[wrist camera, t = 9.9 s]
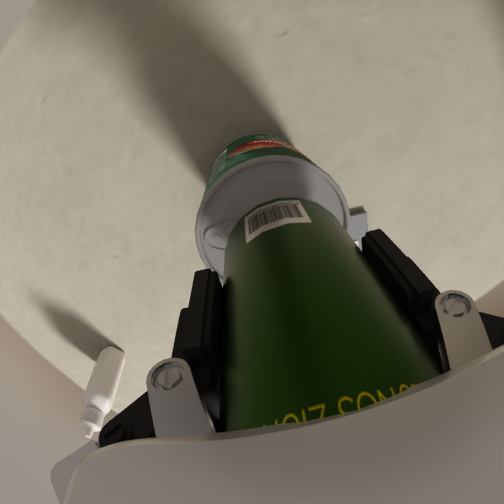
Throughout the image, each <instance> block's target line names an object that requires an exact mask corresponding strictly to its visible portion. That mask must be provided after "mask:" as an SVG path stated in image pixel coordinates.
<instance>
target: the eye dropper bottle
mask: <svg viewBox="0 0 504 504" xmlns="http://www.w3.org/2000/svg"><path fill="white" fill-rule="evenodd" d="M124 363H125V354H124V352H122V351H120V350H119V349H117V348H115V347H113V346H108V347H106V348H105V349H103V350H102V351H101V352H100V354H99V356H98V359H97V361H96V364H95V367H94V369H93V372H92V375H91V377H90V380H89V383H88V386H87V389H86V391H85V394H84V398H83V406H84V412H83V415H82V418H81V424H82V425H83V426H84V427H85V436H86V437H88V438H91V436H92V434H93V432H94V431H100V430H101V427H102V423H103V419H104V415H106V414H107V413H108V412H109V411H110V410H111V407H112V405H113V401H114V397H115V394H116V390H117V387H118V383H119V380H120V376H121V373H122V370H123V366H124Z"/></svg>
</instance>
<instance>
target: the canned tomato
mask: <svg viewBox="0 0 504 504" xmlns="http://www.w3.org/2000/svg"><path fill="white" fill-rule="evenodd" d="M290 197H299V198H303V199H306V200H310V201H313V202H317V203H319V204H320V205H321V206H323V207H324V208H326V209H327V210H328V211H330V212H331V213H332V214H333V215H334V216H335V217H336V218H337V220H338V221H339V222H340V224H341V225H342V226H343V227H344V229H345V230H346V231H347V233H348V234H349V235H350V229H351V223H350V212H349V208H348V204H347V201H346V198H345V197H344V195H343V193H342V191H341V189H340V187H339V186H338V185H337V183H336V182H335V181H334V180H333V179H332V177H331V176H330V175H329V174H327V173H326V172H325V171H323V170H322V169H321V168H319V167H318V166H317V165H316V164H314V163H313V162H312V161H311V160H310V159H308V158H307V157H306V156H304V155H303V154H302V153H301V152H299V151H298V150H297V149H296V148H294V147H293V146H292V145H291V144H290V143H289V142H287V141H286V140H284V139H283V138H281V137H278V136H276V135H273V134H269V133H249V134H245V135H242V136H240V137H237V138H235V139H234V140H232V141H231V142H229V143H228V144H227V145H226V146H225V147H224V148H223V149H222V150H221V151H220V152H219V154H218V155H217V157H216V158H215V161H214V163H213V166H212V170H211V173H210V176H209V180H208V183H207V186H206V189H205V192H204V196H203V199H202V202H201V205H200V208H199V210H198V213H197V219H196V226H195V234H196V244H197V248H198V251H199V254H200V257H201V259H202V261H203V263H204V264H205V266H206V268H207V269H208V268H210V269H211V271H217V273H218V276H219V279H220V282H221V283H222V284H223V275H224V255H225V248H226V245H227V241H228V237H229V234H230V232H231V231H232V229H233V228H234V226H235V225H236V224H237V222H238V221H239V219H240V218H241V217H242V216H243V215H245V214H246V213H247V212H249V211H250V210H251V209H253V208H254V207H255V206H257V205H259V204H262V203H265V202H267V201H270V200H273V199H276V198H290Z"/></svg>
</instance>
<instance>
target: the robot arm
mask: <svg viewBox="0 0 504 504" xmlns="http://www.w3.org/2000/svg"><path fill="white" fill-rule="evenodd" d="M361 243H362V252H363V254H364V255H365V256H366V258H367V259H368V261H369V262H370V263H371V265H372V266H373V267H374V269H375V270H376V272H377V273H378V274H379V276H380V277H381V279H382V280H383V281H384V283H385V284H386V286H387V287H388V289H389V290H390V291H391V293H392V294H393V296H394V297H395V299H396V300H397V302H398V303H399V305H400V306H401V308H402V309H403V311H404V312H405V314H406V315H407V317H408V318H409V320H410V321H411V323H412V325H413V326H414V328H415V329H416V331H417V332H418V334H419V336H420V337H421V339H422V340H423V342H424V344H425V345H426V347H427V348H428V350H429V352H430V353H431V355H432V357H433V358H434V360H435V362H436V363H437V365H438V367H439V369H440V370H441V372H442V375H439V376H437V377H435V378H432V379H430V380H427V381H425V382H423V383H420V384H418V385H415V386H412V387H410V388H408V389H407V390H405V391H403V392H401V393H399V394H396V395H394V396H392V397H389V398H387V399H384V400H382V401H379V402H377V403H374V404H372V405H369V406H367V407H364V408H361V409H358V410H355V411H351V412H347V413H343V414H338V415H334V416H329V417H325V418H320V419H315V420H310V421H304V422H296V423H284V424H276V425H270V426H264V427H258V428H252V429H245V430H237V431H229V432H220V433H219V402H220V356H221V324H222V298H223V287H222V285H221V282H220V279H219V276H218V273H217V271H211V269H210V268H208V269H204V270H200V271H196V272H195V275H194V280H193V285H192V290H191V296H190V301H189V307H188V308H183V309H182V310H181V312H180V316H179V321H178V326H177V331H176V336H175V341H174V347H173V352H172V357H171V358H168V359H165V360H162V361H160V362H158V363H157V364H156V365H155V366H153V367H152V369H151V370H150V371H149V373H148V375H147V381H146V384H147V390H148V391H147V392H145V393H144V394H143V395H142V396H140V397H139V398H138V399H137V400H135V401H134V402H133V403H132V404H130V405H129V406H128V407H127V408H125V409H124V410H123V411H122V412H120V413H119V414H118V415H117V416H115V417H114V418H113V419H112V420H110V421H109V422H108V423H107V424H106V425H105V426H104V427H103V428H102V430H101V431H100V435H99V440H98V441H94V440H91V441H90V442H88V443H87V444H85V445H84V446H83V447H81V448H79V449H78V450H76V451H75V452H73V453H72V454H70V455H69V456H67V457H65V458H64V459H62V460H61V461H59V462H58V463H57V464H56V465H54V467H53V469H52V471H51V476H50V477H51V482H52V485H53V488H54V490H55V493H56V495H57V497H58V500H59V502H60V504H504V318H502V317H498V316H494V315H490V314H486V313H482V312H478V310H477V307H476V305H475V303H474V301H473V299H472V298H471V297H470V296H469V295H467V294H466V293H464V292H461V291H457V290H449V291H444V292H443V293H440V292H439V290H438V289H437V288H436V287H435V286H434V285H433V283H432V282H431V281H430V280H429V279H428V278H427V277H426V275H425V274H424V273H423V272H422V271H421V270H420V269H419V267H418V266H417V265H416V264H415V263H414V262H413V261H412V260H411V259H410V258H409V257H407V256H406V255H405V254H404V253H403V252H402V251H401V250H400V249H399V248H398V247H397V246H396V245H395V244H394V243H393V242H392V241H391V239H390V238H389V237H388V236H387V235H386V234H385V233H384V232H383V231H382V230H381V229H377V230H373V231H368V232H366V233H365V236H364V237H362V239H361Z"/></svg>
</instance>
